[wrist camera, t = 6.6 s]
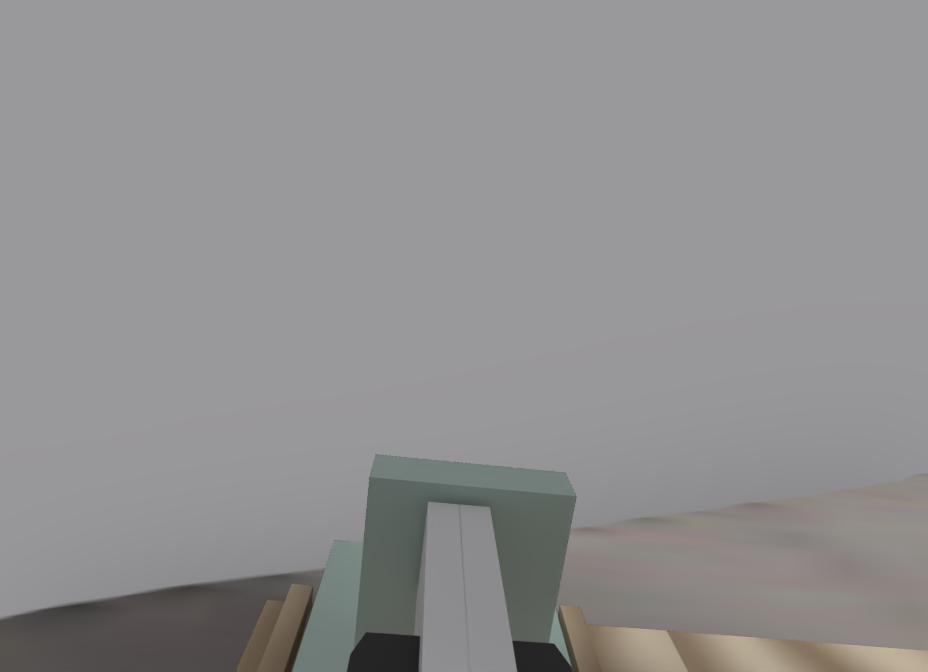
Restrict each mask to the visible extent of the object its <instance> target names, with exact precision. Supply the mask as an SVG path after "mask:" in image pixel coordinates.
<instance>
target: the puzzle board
mask: <svg viewBox="0 0 928 672" xmlns="http://www.w3.org/2000/svg"><path fill="white" fill-rule="evenodd" d="M312 594H313V585H302V584H291V587H290V590H289V592H288V595H287V597H286V600H285V601H276V600H267V601H266V603H265V605H264V608H263V610H262V612H261V614H260V617H259V619H258V621H257V623H256V626H255V628H254V630H253V632H252V635H251V637H250V639H249V641H248V644H247V646H246V648H245V650H244V653H243V655H242V657H241V659H240V662H239V664H238V666H237V668H236V671H235V672H292V670H293V667H294V664H295V661H296V658H297V655H298V652H299V649H300V645H301V642H302V639H303V636H304V633H305V630H306V627H307V624H308V621H309V617H310V614H311V611H312V608H313V605H314V603H312ZM558 619H559V623H560V627H561V630H562V634H563V637H564V641H565V645H566V648H567V652H568V655H569V659H570V662H571V666H572V670H573V672H928V651H920V650H908V649H895V648H882V647H869V646H856V645H843V644H830V643H817V642H804V641H791V640H779V639H766V638H753V637H740V636H727V635H714V634H701V633H688V632H675V631H663V630H650V629H637V628H624V627H611V626H598V625H586V623H585V620H584V617H583V614H582V611H581V608H580V607H578V606H566V605H560V608H559V613H558Z"/></svg>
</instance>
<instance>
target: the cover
mask: <svg viewBox="0 0 928 672" xmlns="http://www.w3.org/2000/svg"><path fill="white" fill-rule="evenodd" d="M428 502H438V503H449V504H460V505H472V506H483V507H490V511H491V517H492V523H493V529H494V535H495V541H496V547H497V553H498V559H499V565H500V571H501V577H502V583H503V589H504V595H505V601H506V607H507V613H508V619H509V625H510V631H511V637H512V641H526V642H541V643H554V644H555V645H556V647H557V648H558V649H559V651H560V652H561V653H562V655H563V656H564V657H565V659H566V660H567V662H568V663H569V664H570V666H571V662H570V659H569V655H568V652H567V648H566V645H565V641H564V637H563V634H562V630H561V627H560V623H559V619H558V616H557V612H556V609H555V607H556V602H557V597H558V592H559V586H560V581H561V576H562V570H563V565H564V560H565V555H566V549H567V544H568V539H569V533H570V528H571V522H572V517H573V512H574V507H575V502H576V494H575V492H574V490H573V488H572V486H571V483H570V481H569V479H568V477H567V474H566V473H564V472H554V471H543V470H533V469H523V468H512V467H501V466H491V465H481V464H471V463H460V462H449V461H439V460H429V459H418V458H408V457H397V456H387V455H377V454H376V455H375V459H374V462H373V466H372V469H371V473H370V477H369V488H368V499H367V509H366V521H365V532H364V542H351V541H340V540H334V543H333V546H332V549H331V552H330V555H329V559H328V562H327V565H326V568H325V571H324V574H323V577H322V580H321V583H320V586H319V590H318V593H317V596H316V599H315V602H314V605H313V608H312V611H311V614H310V617H309V621H308V624H307V627H306V630H305V633H304V636H303V639H302V642H301V645H300V649H299V652H298V655H297V658H296V661H295V664H294V667H293V670H292V672H347V668H348V663H349V658H350V654H351V652H352V651H353V650H354V648H355V647H356V645H357V644H358V643H359V641H360V640H361V639H362V637H363V636H364V634H365V633H366V632H371V633H386V634H400V635H414V631H415V614H416V599H417V590H418V582H419V573H420V565H421V557H422V548H423V540H424V532H425V523H426V515H427V507H428ZM571 667H572V666H571Z"/></svg>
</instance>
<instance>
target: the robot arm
mask: <svg viewBox="0 0 928 672" xmlns="http://www.w3.org/2000/svg"><path fill="white" fill-rule="evenodd" d="M347 672H573V670H572V667H571V666H570V664H569V663H568V662H567V660H566V659H565V657H564V656H563V655H562V653H561V652H560V651H559V649H558V648H557V647H556V645H555V644H554V643H541V642H526V641H512V637H511V631H510V625H509V619H508V613H507V607H506V601H505V595H504V589H503V583H502V577H501V571H500V565H499V559H498V553H497V547H496V541H495V535H494V529H493V523H492V517H491V511H490V507H483V506H472V505H460V504H449V503H438V502H428V507H427V515H426V523H425V532H424V540H423V548H422V557H421V565H420V573H419V582H418V590H417V599H416V614H415V631H414V635H400V634H386V633H371V632H366V633H365V634H364V636H363V637H362V639H361V640H360V641H359V643H358V644H357V645H356V647H355V648H354V650H353V651H352V652H351V654H350V658H349V663H348V668H347Z"/></svg>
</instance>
